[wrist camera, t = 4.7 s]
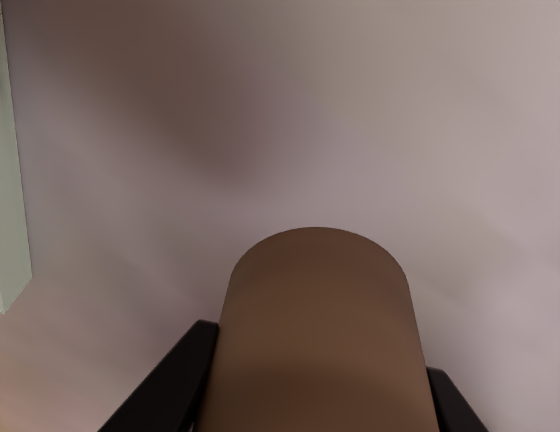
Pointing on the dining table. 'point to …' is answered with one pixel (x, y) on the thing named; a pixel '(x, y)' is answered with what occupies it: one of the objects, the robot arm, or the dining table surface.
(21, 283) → the green tray
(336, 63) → the dining table surface
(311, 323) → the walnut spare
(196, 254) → the dining table surface
